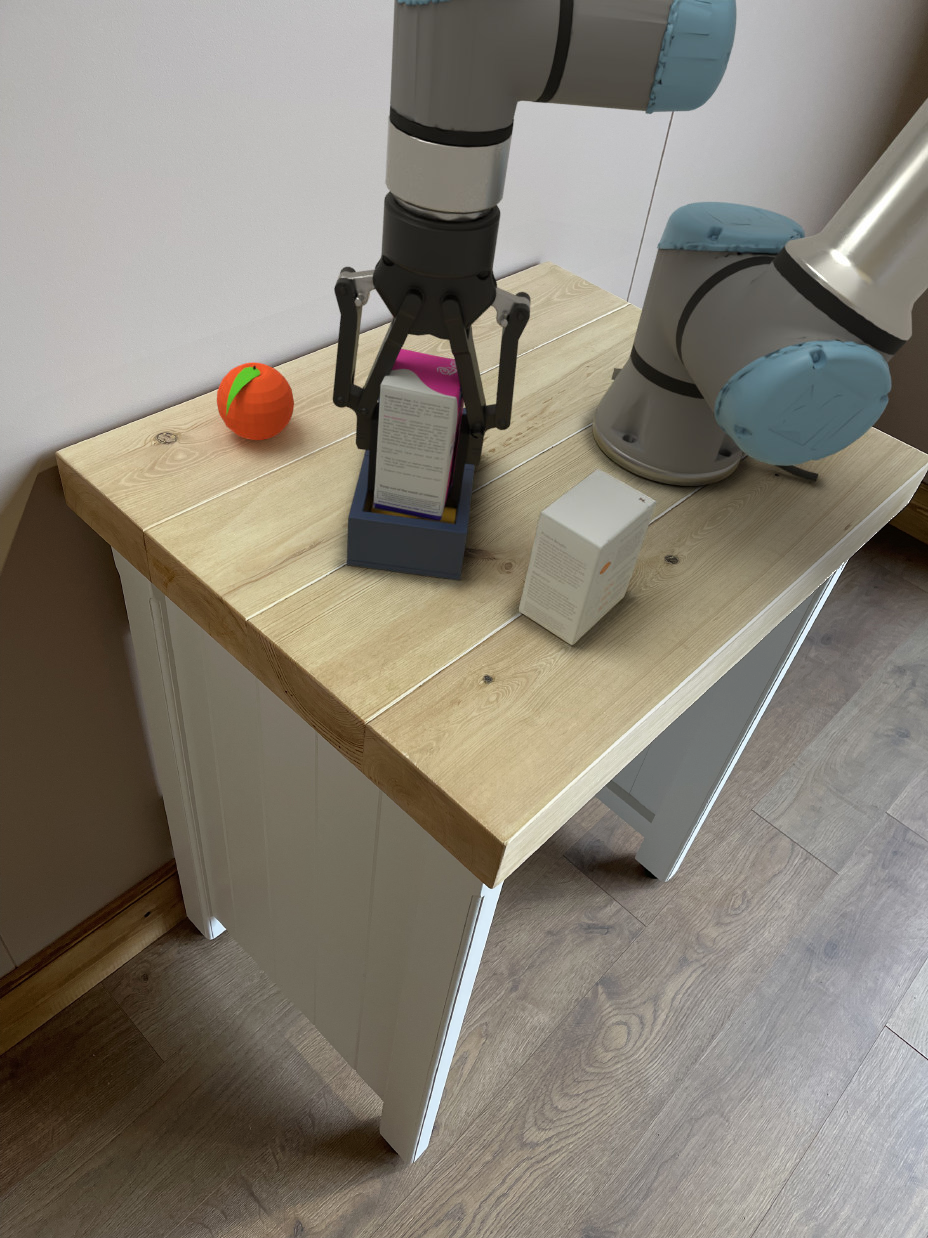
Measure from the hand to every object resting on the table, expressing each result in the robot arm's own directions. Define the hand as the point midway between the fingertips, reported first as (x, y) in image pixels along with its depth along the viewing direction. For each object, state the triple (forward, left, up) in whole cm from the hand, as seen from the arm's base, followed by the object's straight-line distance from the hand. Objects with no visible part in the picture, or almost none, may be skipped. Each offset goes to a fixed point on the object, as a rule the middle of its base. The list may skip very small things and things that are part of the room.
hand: (415, 485), depth 75 cm
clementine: (+16, -11, -6) cm, 20 cm away
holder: (0, -4, -5) cm, 7 cm away
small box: (-14, +6, -6) cm, 16 cm away
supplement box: (0, 0, -1) cm, 1 cm away
